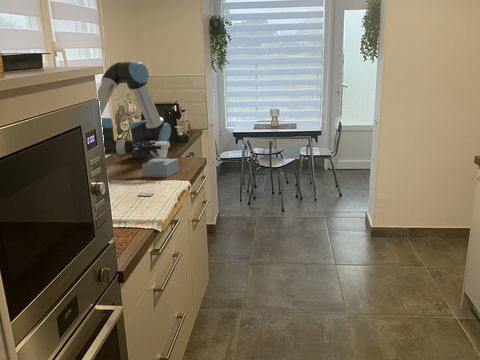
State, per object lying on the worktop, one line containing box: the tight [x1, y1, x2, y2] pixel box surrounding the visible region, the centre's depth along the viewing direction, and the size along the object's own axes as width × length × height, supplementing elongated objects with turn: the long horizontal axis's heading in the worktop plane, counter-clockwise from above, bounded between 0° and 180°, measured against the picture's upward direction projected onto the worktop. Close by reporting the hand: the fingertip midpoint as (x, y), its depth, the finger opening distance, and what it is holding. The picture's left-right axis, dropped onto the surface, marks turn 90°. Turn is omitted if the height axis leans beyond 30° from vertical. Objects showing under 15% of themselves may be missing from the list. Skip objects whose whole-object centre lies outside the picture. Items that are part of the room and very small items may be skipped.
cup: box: [150, 140, 169, 159], centre depth 244 cm, size 7×10×8 cm
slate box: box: [141, 157, 180, 178], centre depth 246 cm, size 15×14×7 cm
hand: (168, 145), depth 243 cm, fingers closed on cup, 7 cm apart
